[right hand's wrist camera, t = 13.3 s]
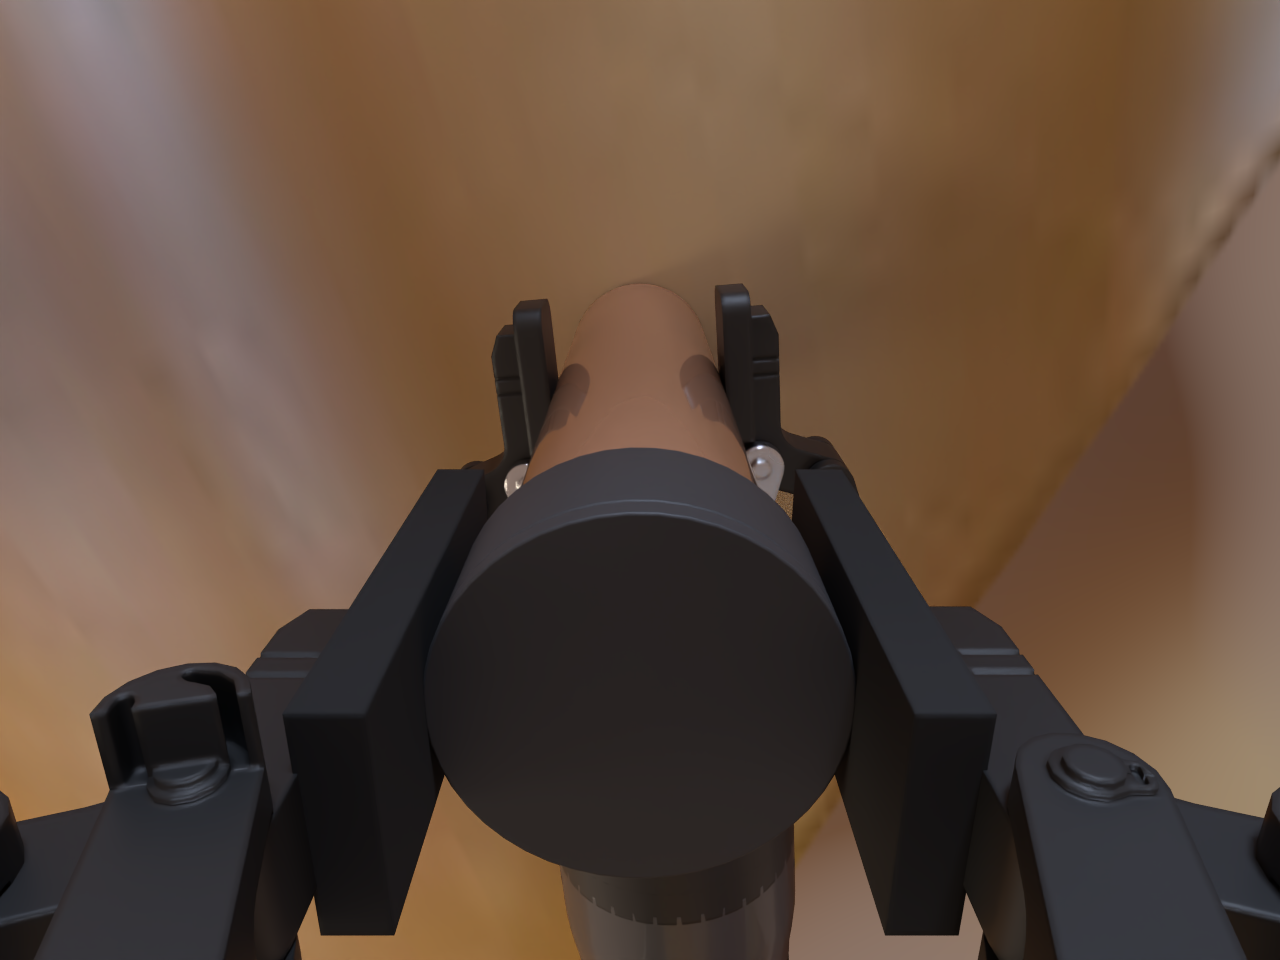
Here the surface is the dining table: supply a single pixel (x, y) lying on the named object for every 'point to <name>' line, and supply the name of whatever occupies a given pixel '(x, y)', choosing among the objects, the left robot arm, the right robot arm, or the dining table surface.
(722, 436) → the pinkish brown rounded rod
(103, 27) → the dining table surface
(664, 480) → the lid
